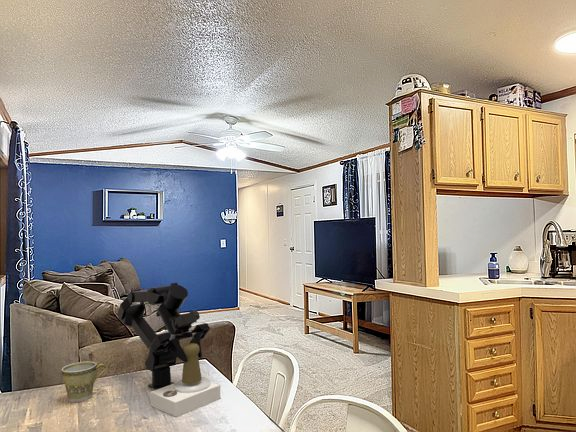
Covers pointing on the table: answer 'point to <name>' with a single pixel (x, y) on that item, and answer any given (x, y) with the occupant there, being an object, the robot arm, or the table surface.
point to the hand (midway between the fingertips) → (193, 359)
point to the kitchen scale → (184, 396)
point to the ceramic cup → (80, 380)
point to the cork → (191, 364)
